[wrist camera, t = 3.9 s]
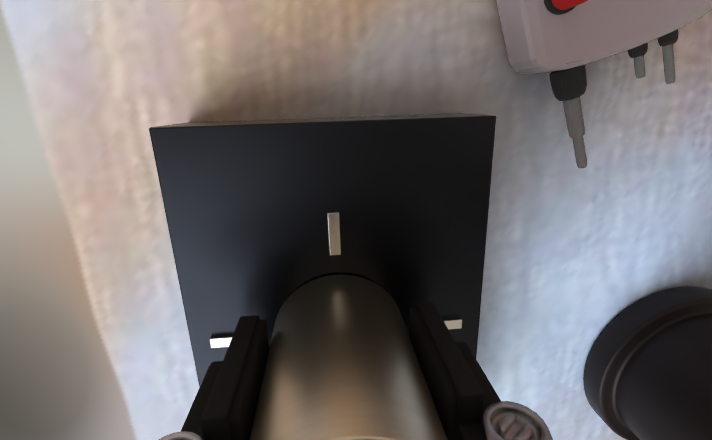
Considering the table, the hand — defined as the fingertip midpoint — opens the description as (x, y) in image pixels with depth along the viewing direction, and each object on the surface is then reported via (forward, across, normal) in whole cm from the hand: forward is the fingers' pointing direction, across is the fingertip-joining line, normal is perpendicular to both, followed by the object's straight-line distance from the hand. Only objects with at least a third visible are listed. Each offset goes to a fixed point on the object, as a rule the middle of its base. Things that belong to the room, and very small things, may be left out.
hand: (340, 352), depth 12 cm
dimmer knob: (+1, 0, 0) cm, 1 cm away
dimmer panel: (+4, 0, 0) cm, 4 cm away
